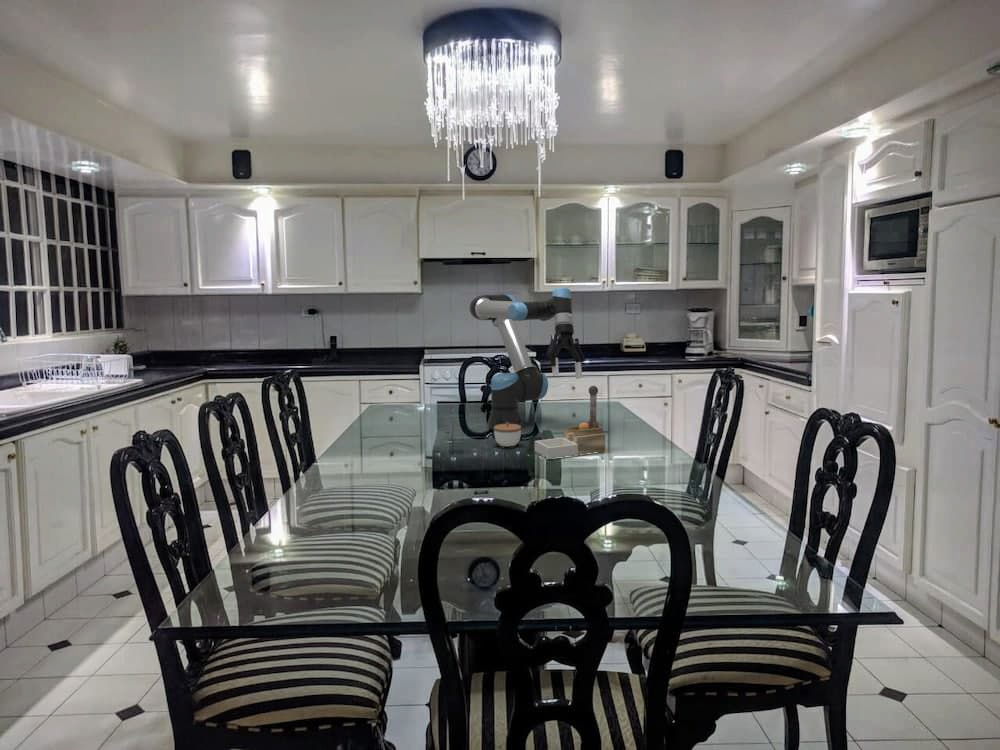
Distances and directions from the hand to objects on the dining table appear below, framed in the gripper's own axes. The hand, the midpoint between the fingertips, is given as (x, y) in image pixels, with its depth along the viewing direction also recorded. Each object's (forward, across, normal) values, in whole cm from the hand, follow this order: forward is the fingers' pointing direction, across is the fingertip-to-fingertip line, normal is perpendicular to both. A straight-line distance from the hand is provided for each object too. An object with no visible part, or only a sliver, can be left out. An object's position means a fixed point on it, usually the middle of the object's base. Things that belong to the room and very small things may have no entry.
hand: (567, 376), depth 291 cm
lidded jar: (+26, -17, +19) cm, 37 cm away
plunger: (+23, 0, -11) cm, 26 cm away
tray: (+32, -13, -3) cm, 35 cm away
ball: (+22, -4, -10) cm, 25 cm away
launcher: (+31, -2, -7) cm, 32 cm away
